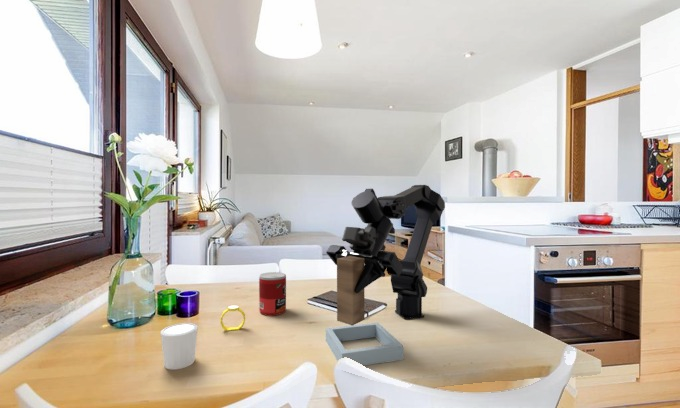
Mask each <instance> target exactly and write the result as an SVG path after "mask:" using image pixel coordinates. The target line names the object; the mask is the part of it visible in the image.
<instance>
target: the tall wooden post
mask: <svg viewBox="0 0 680 408" xmlns="http://www.w3.org/2000/svg"><path fill="white" fill-rule="evenodd" d="M364 265H365V264H364V258H359V257H352V256H347V257H342V258H338V259H337V265H336V322H340V323H344V324H346V325H348V326H350V325H352V326H353V325H358V323H359V324H360V322H363V321H364V320H365V288H364V289H363V290H361V291H360V292H359V293H355V291H354V290H355V287H356V284H357V282H358V280H359V278H360V276H361V274H362V272H363V270H364Z"/></svg>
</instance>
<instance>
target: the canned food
mask: <svg viewBox="0 0 680 408" xmlns="http://www.w3.org/2000/svg"><path fill="white" fill-rule="evenodd" d="M258 280H259V281H258V284H259V285H258V289H259V290H258V299H259V300H258V302H259V303H258V304H259V307H258V308H259V309H258V310H259V313H260V314H261V315H263V316H279V315H280V316H281V315H282V314H284V313H285V312H286V309H287V275H286V273H283V272H280V271H278V272H277V271H275V272H274V271H273V272H271V271H270V272H264V273H261V274H259V277H258Z"/></svg>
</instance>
